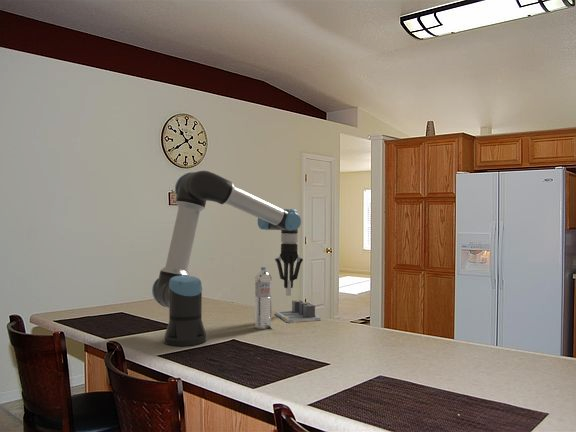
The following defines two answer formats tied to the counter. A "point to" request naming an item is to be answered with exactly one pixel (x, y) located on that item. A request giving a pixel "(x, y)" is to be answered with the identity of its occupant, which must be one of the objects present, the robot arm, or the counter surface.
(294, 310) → the tab far
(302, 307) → the tab mid
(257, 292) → the water bottle
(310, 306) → the dark grey rectangular block
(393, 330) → the counter surface
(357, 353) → the counter surface
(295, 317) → the switch bank
